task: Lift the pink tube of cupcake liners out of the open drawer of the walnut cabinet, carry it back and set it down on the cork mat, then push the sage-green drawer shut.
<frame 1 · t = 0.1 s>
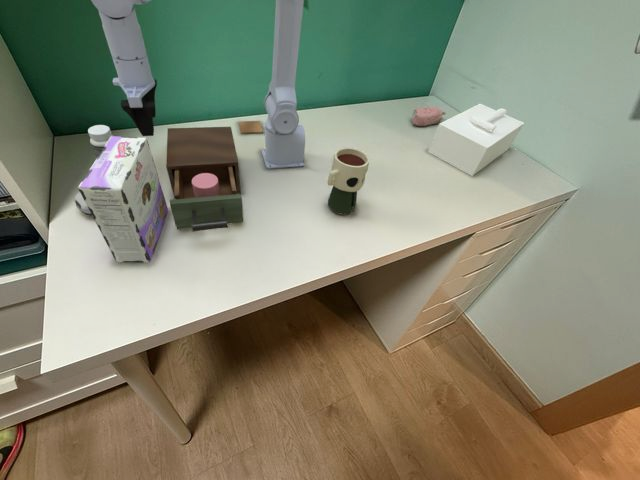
hand: (149, 125, 68), 10 cm above the table, tool pointing down, fingers open, 7 cm apart
cabinet: (206, 175, 75), on the table
drawer: (207, 198, 64), point 4 cm above the table, slide at 9.0 cm, touching liner tube
toy car: (116, 201, 66), on the table
cork mat: (250, 128, 92), on the table
character mug: (341, 207, 73), on the table
liner tube: (208, 202, 66), point 2 cm above the table, touching drawer
white slanted box: (469, 150, 99), on the table
pill bottle: (112, 164, 74), on the table
candy box: (144, 235, 61), on the table
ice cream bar: (426, 122, 109), on the table
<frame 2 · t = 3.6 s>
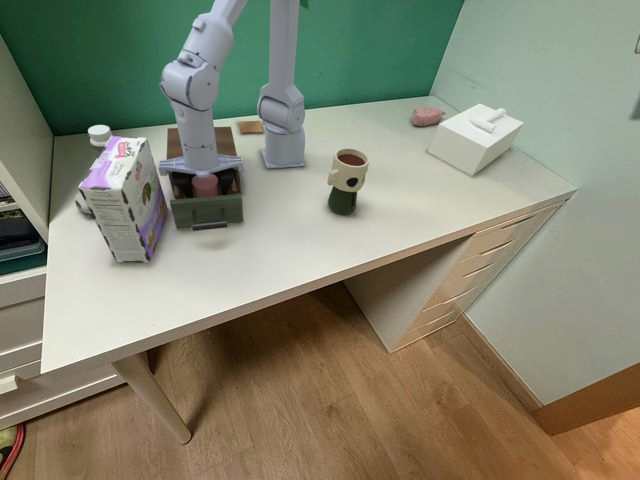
hand: (208, 200, 66), 3 cm above the table, tool pointing down, fingers closed on drawer, 5 cm apart
drawer: (207, 198, 64), point 4 cm above the table, slide at 9.0 cm, touching gripper, liner tube
everything else where it was.
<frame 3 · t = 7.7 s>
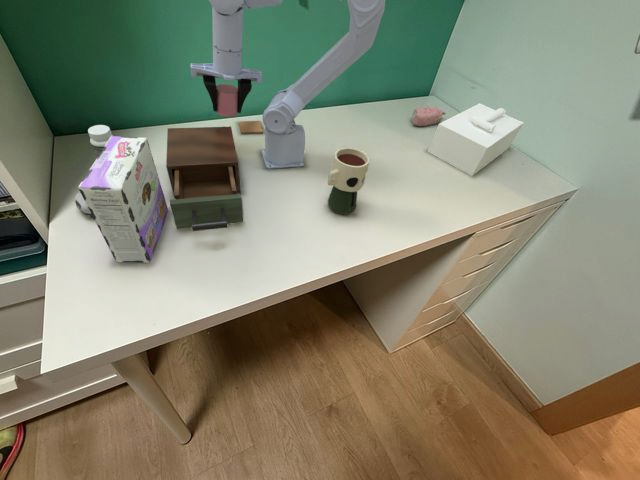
hand: (226, 110, 76), 11 cm above the table, tool pointing down, fingers closed on liner tube, 5 cm apart
drawer: (207, 198, 64), point 4 cm above the table, slide at 9.0 cm
liner tube: (226, 112, 76), point 10 cm above the table, tilted 6°, touching gripper
everything else where it was.
when the fingers open (1 cm above the table, at t = 11.5 s): liner tube stays where it is, resting on cork mat.
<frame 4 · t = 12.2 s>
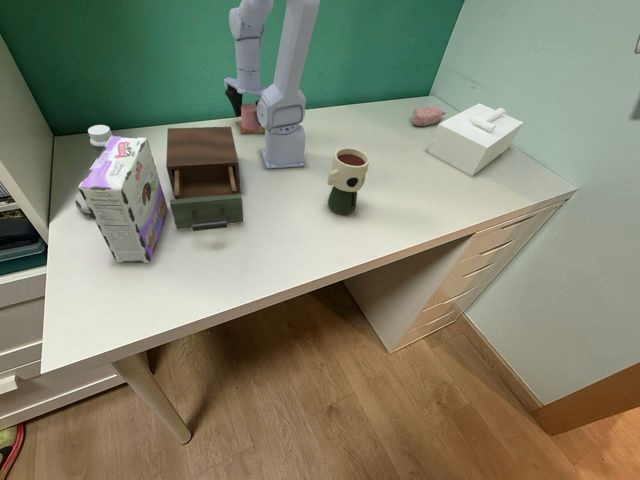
hand: (250, 119, 90), 3 cm above the table, tool pointing down, fingers open, 7 cm apart
liner tube: (250, 126, 92), point 1 cm above the table, touching cork mat
everything else where it was.
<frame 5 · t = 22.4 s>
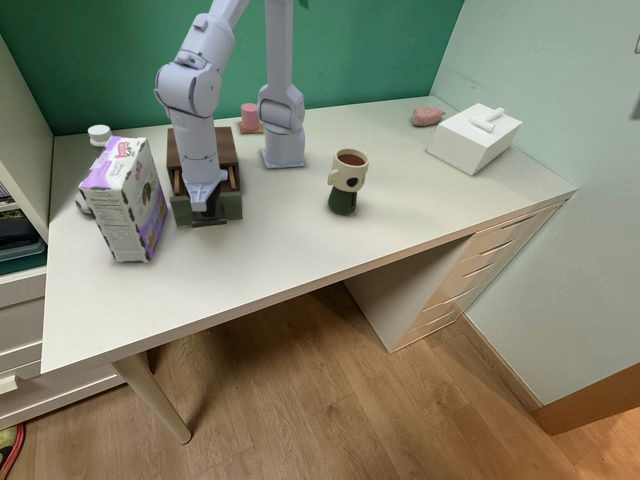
hand: (209, 214, 60), 5 cm above the table, tool pointing down, fingers closed
drawer: (207, 196, 64), point 4 cm above the table, slide at 8.2 cm, touching gripper
everything else where it was.
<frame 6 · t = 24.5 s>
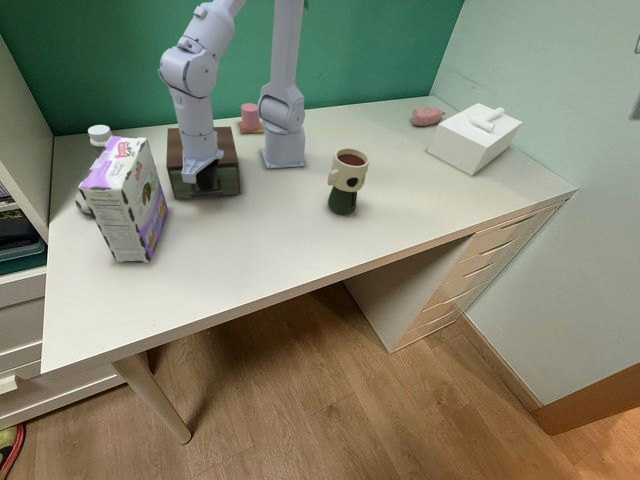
hand: (207, 190, 66), 4 cm above the table, tool pointing down, fingers closed
drawer: (205, 171, 70), point 4 cm above the table, slide at 0.0 cm, touching cabinet, gripper
everything else where it was.
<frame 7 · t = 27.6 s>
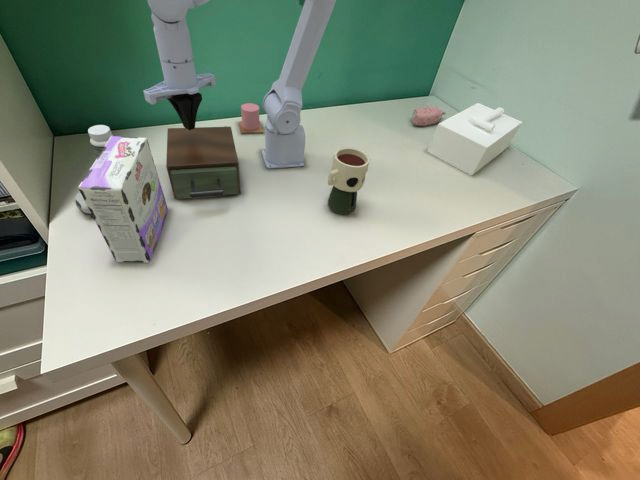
hand: (189, 127, 69), 10 cm above the table, tool pointing down, fingers closed
drawer: (205, 171, 70), point 4 cm above the table, slide at 0.0 cm, touching cabinet
everything else where it was.
at the end: liner tube 0.1 cm off-centre on the cork mat, point 0.6 cm above the cork mat's base; liner tube tilted 0°; drawer slide at 0.0 cm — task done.
